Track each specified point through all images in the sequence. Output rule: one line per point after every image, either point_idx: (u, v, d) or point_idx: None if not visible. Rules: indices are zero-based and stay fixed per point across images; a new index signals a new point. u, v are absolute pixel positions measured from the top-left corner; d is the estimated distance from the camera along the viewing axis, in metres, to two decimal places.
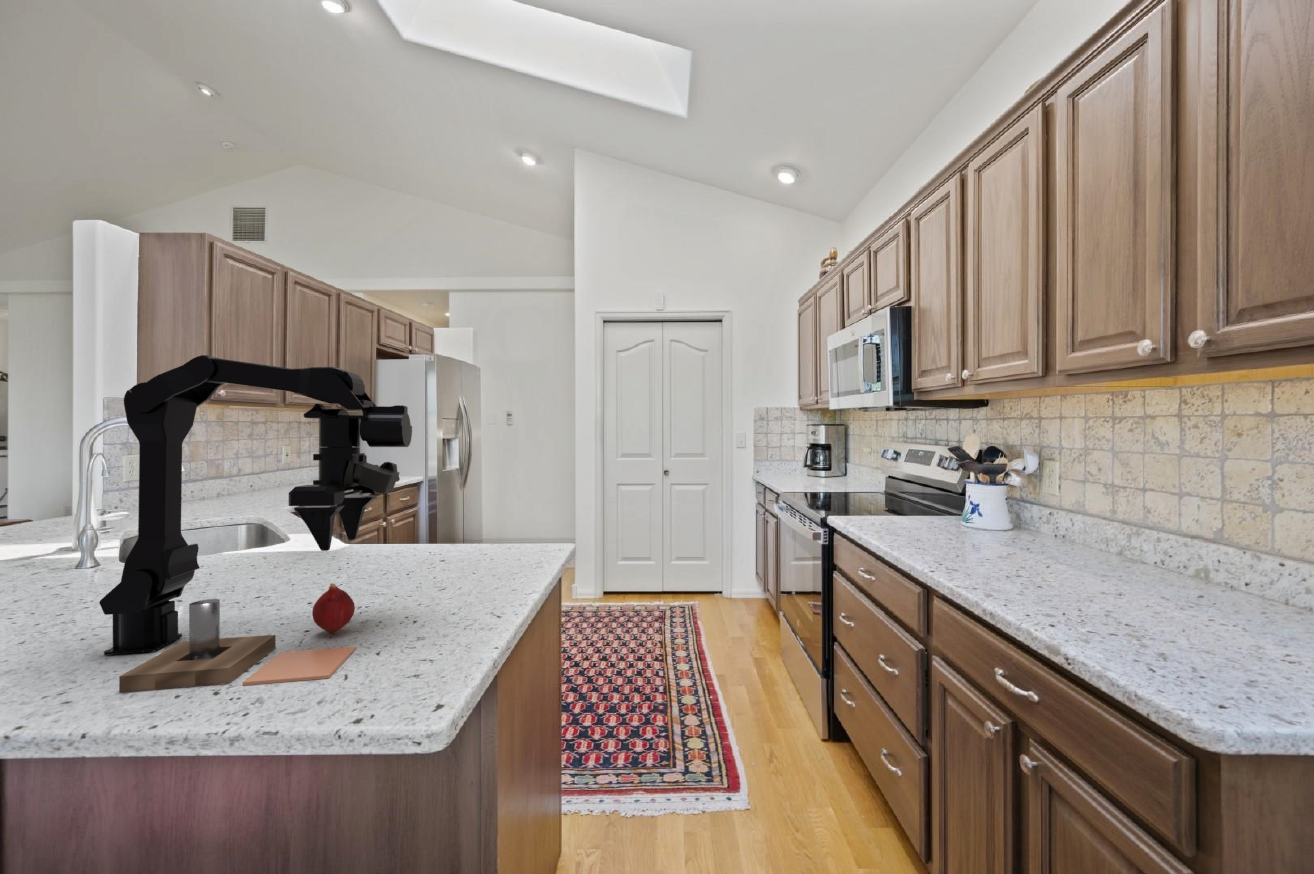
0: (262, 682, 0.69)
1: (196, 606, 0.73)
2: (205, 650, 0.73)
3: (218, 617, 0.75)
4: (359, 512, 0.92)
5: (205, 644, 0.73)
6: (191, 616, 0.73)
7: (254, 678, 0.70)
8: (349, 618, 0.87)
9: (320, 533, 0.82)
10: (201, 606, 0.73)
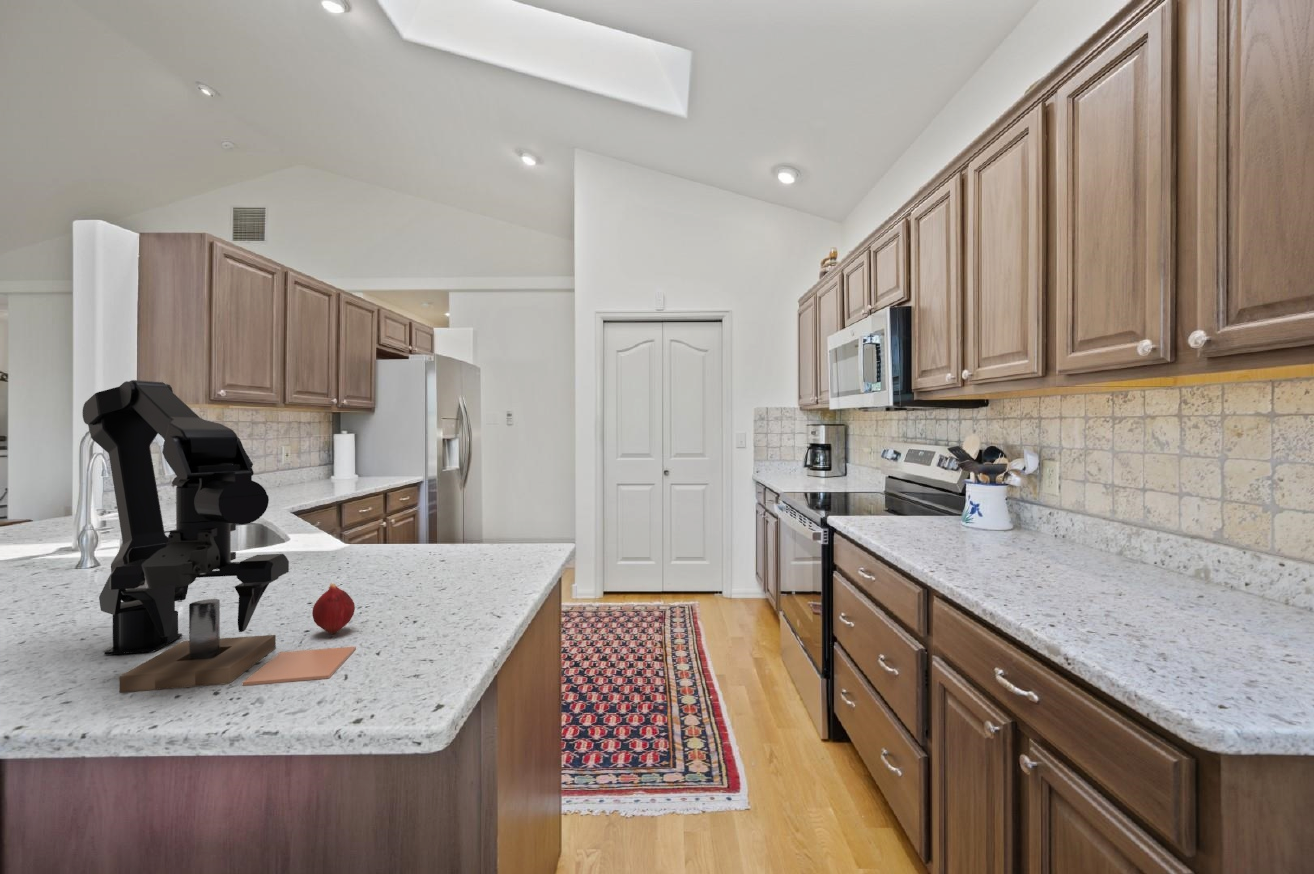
0: (262, 682, 0.69)
1: (196, 606, 0.73)
2: (205, 650, 0.73)
3: (218, 617, 0.75)
4: None
5: (205, 644, 0.73)
6: (191, 616, 0.73)
7: (254, 678, 0.70)
8: (349, 618, 0.87)
9: None
10: (201, 606, 0.73)
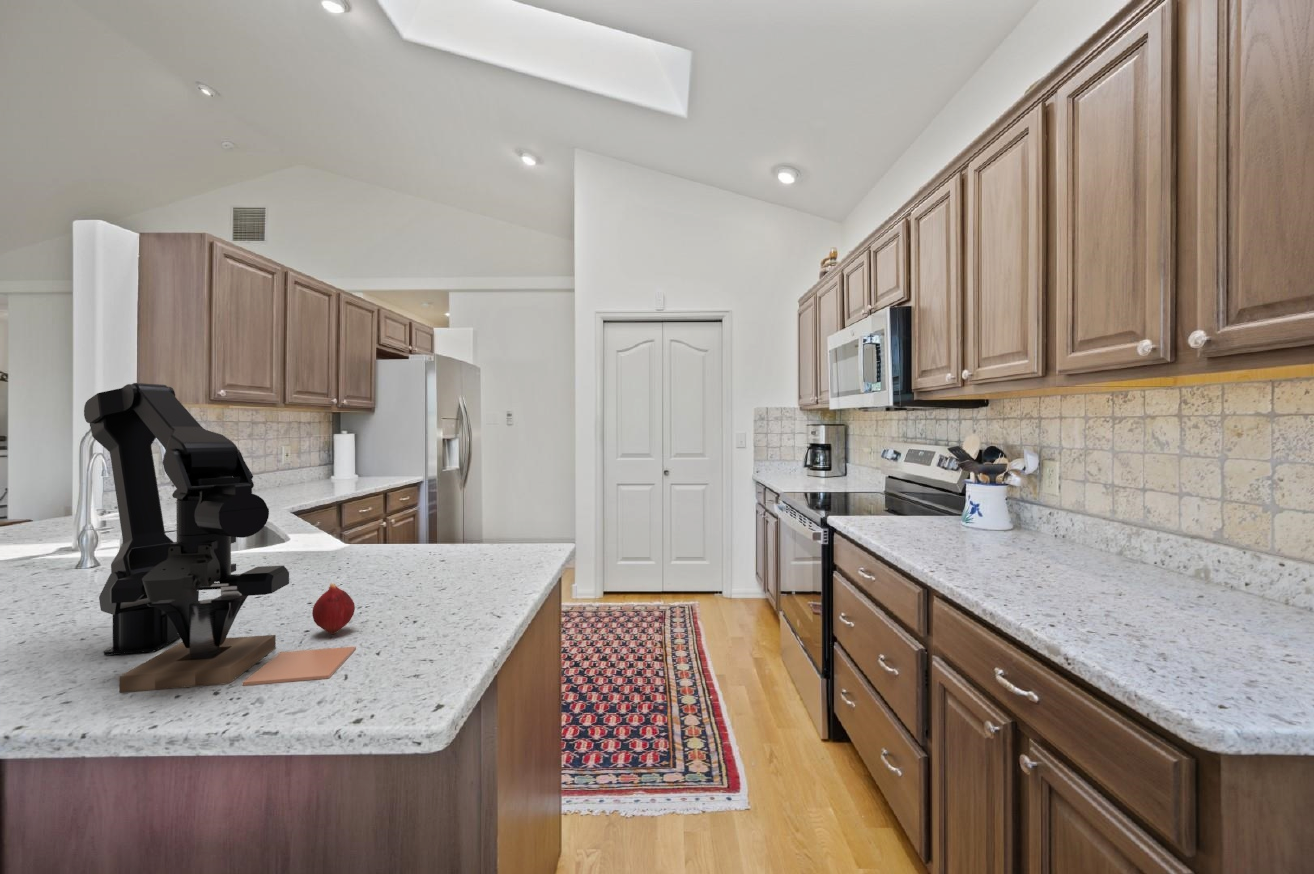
0: (262, 682, 0.69)
1: (196, 606, 0.73)
2: (205, 650, 0.73)
3: None
4: (216, 614, 0.74)
5: (205, 644, 0.73)
6: (191, 616, 0.73)
7: (254, 678, 0.70)
8: (349, 618, 0.87)
9: None
10: (201, 606, 0.73)
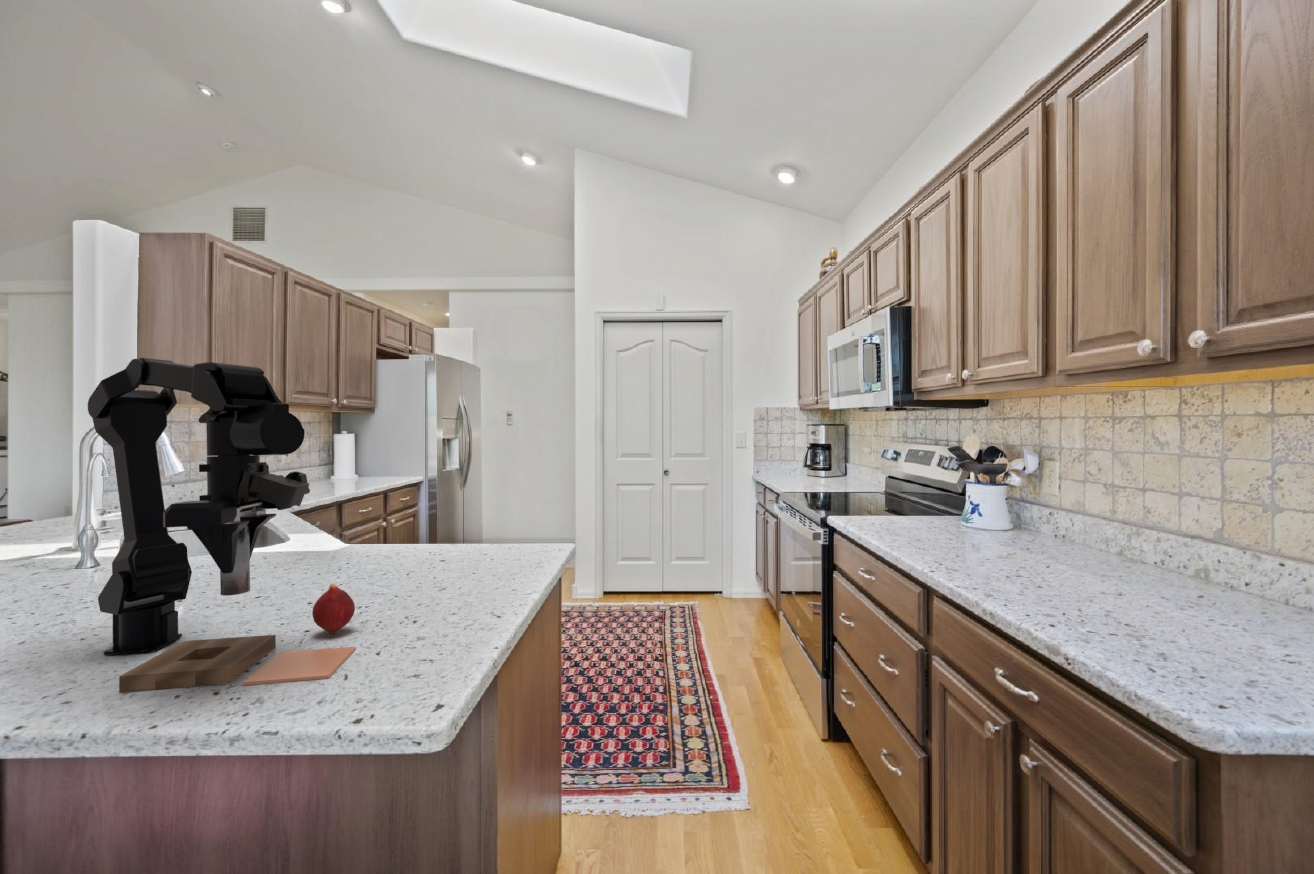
0: (262, 682, 0.69)
1: (246, 526, 0.75)
2: (249, 569, 0.75)
3: None
4: (251, 534, 0.77)
5: (249, 563, 0.75)
6: (241, 537, 0.74)
7: (254, 678, 0.70)
8: (349, 618, 0.87)
9: (220, 553, 0.72)
10: (248, 526, 0.75)
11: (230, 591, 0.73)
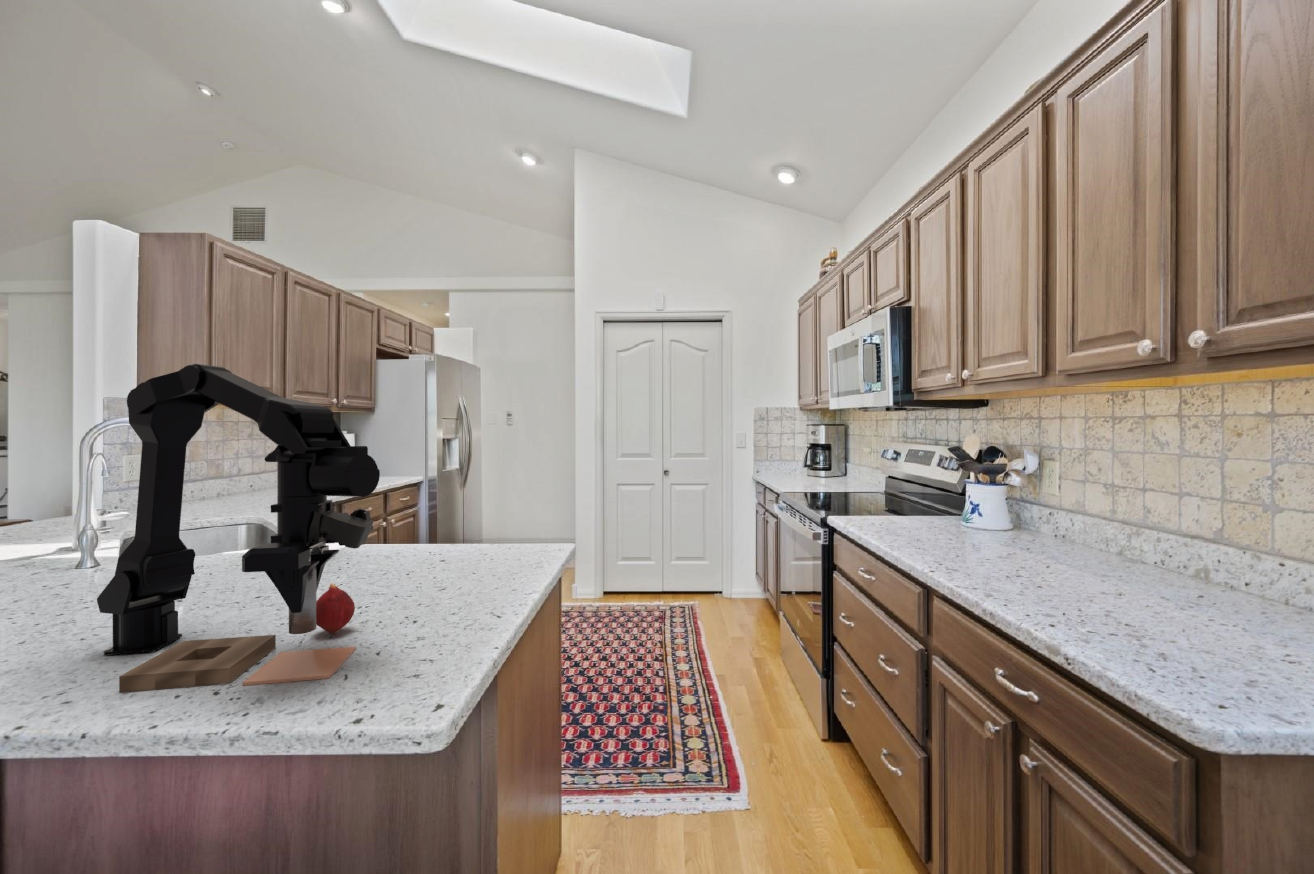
0: (262, 682, 0.69)
1: None
2: None
3: None
4: (317, 571, 0.77)
5: None
6: (310, 576, 0.74)
7: (254, 678, 0.70)
8: (349, 618, 0.87)
9: (291, 594, 0.72)
10: None
11: (299, 630, 0.73)
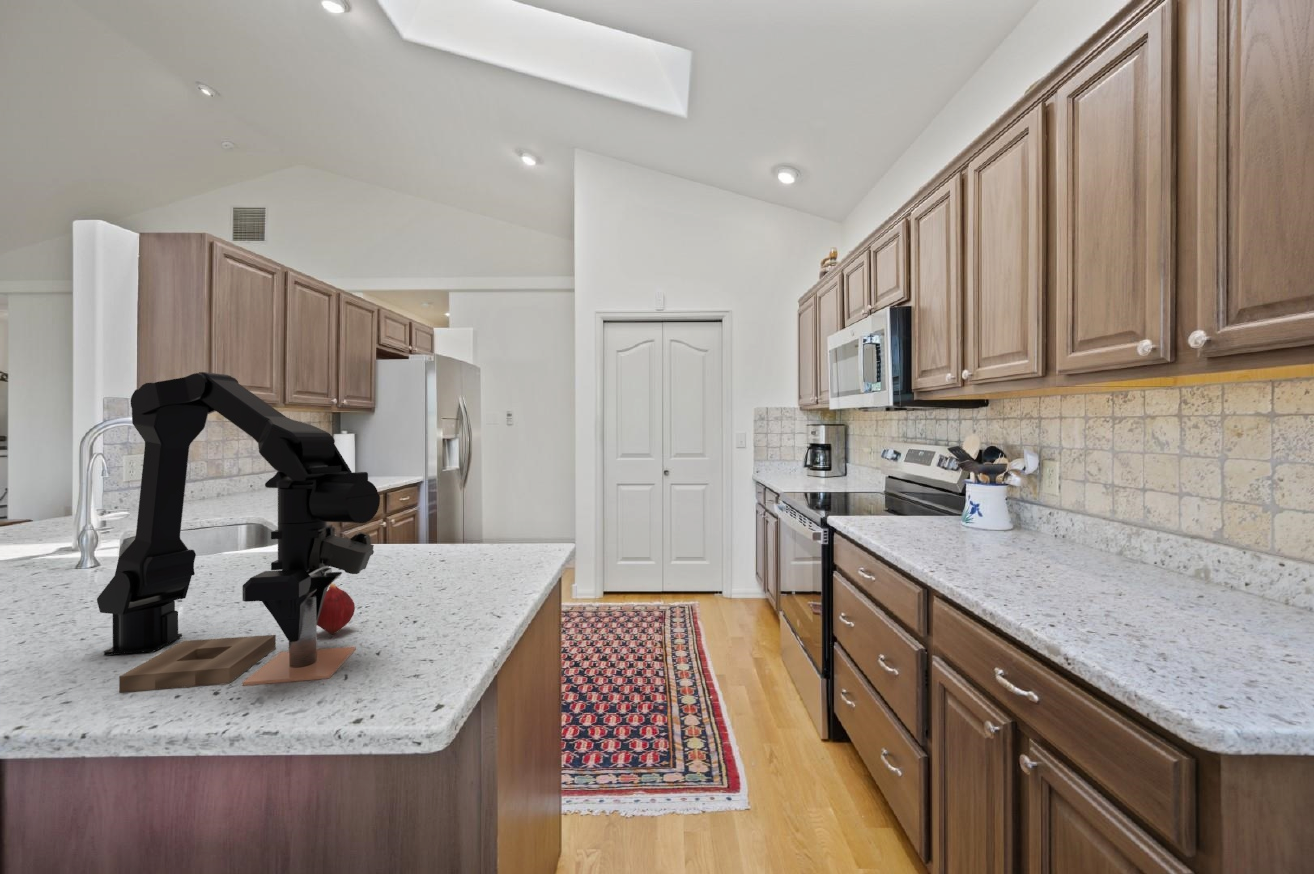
0: (262, 682, 0.69)
1: (314, 598, 0.75)
2: None
3: None
4: (320, 594, 0.78)
5: None
6: (310, 609, 0.74)
7: (254, 678, 0.70)
8: (349, 618, 0.87)
9: (288, 622, 0.71)
10: None
11: (299, 663, 0.73)
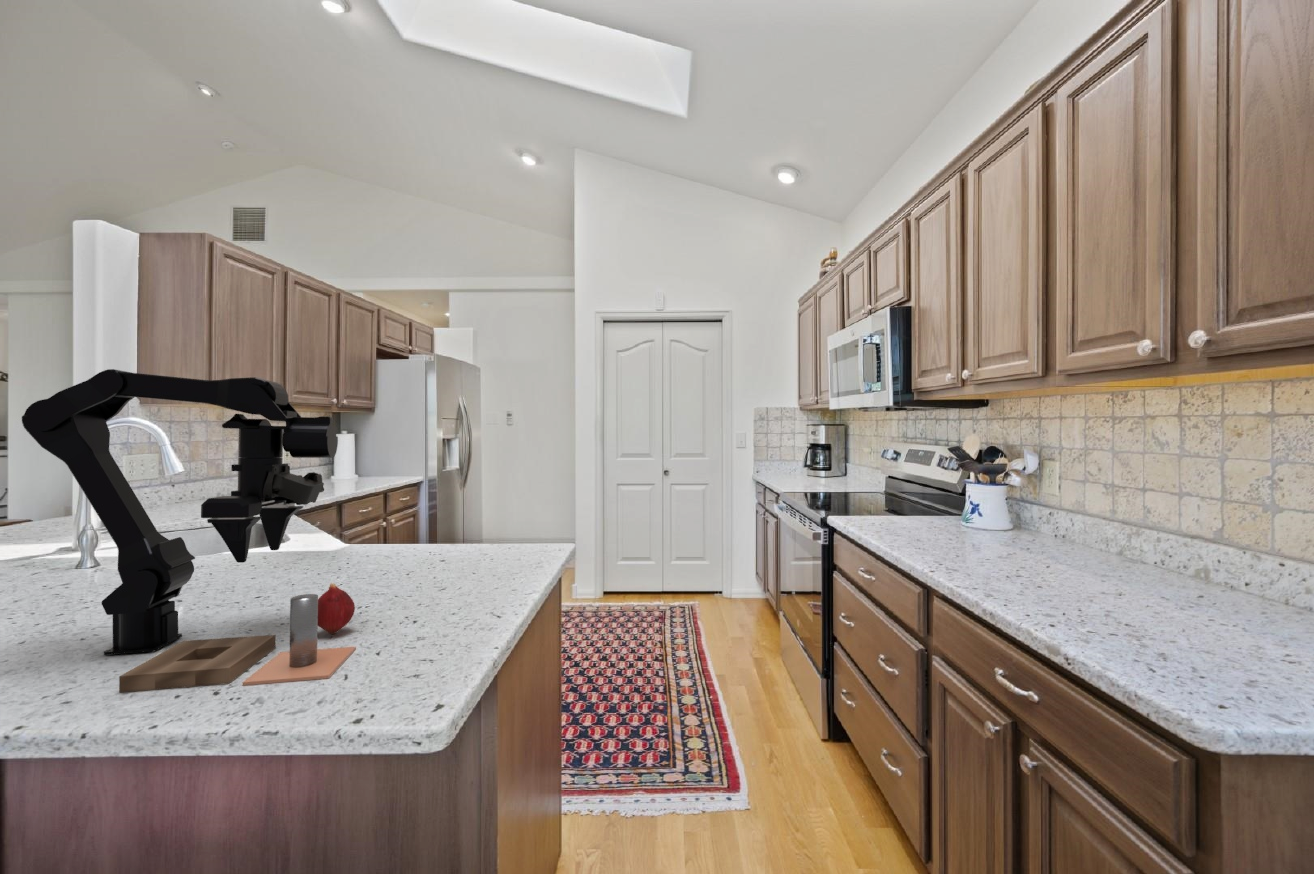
0: (262, 682, 0.69)
1: (316, 597, 0.75)
2: None
3: None
4: (282, 522, 0.92)
5: None
6: (311, 609, 0.74)
7: (254, 678, 0.70)
8: (349, 618, 0.87)
9: (236, 545, 0.81)
10: (317, 596, 0.76)
11: (300, 663, 0.73)
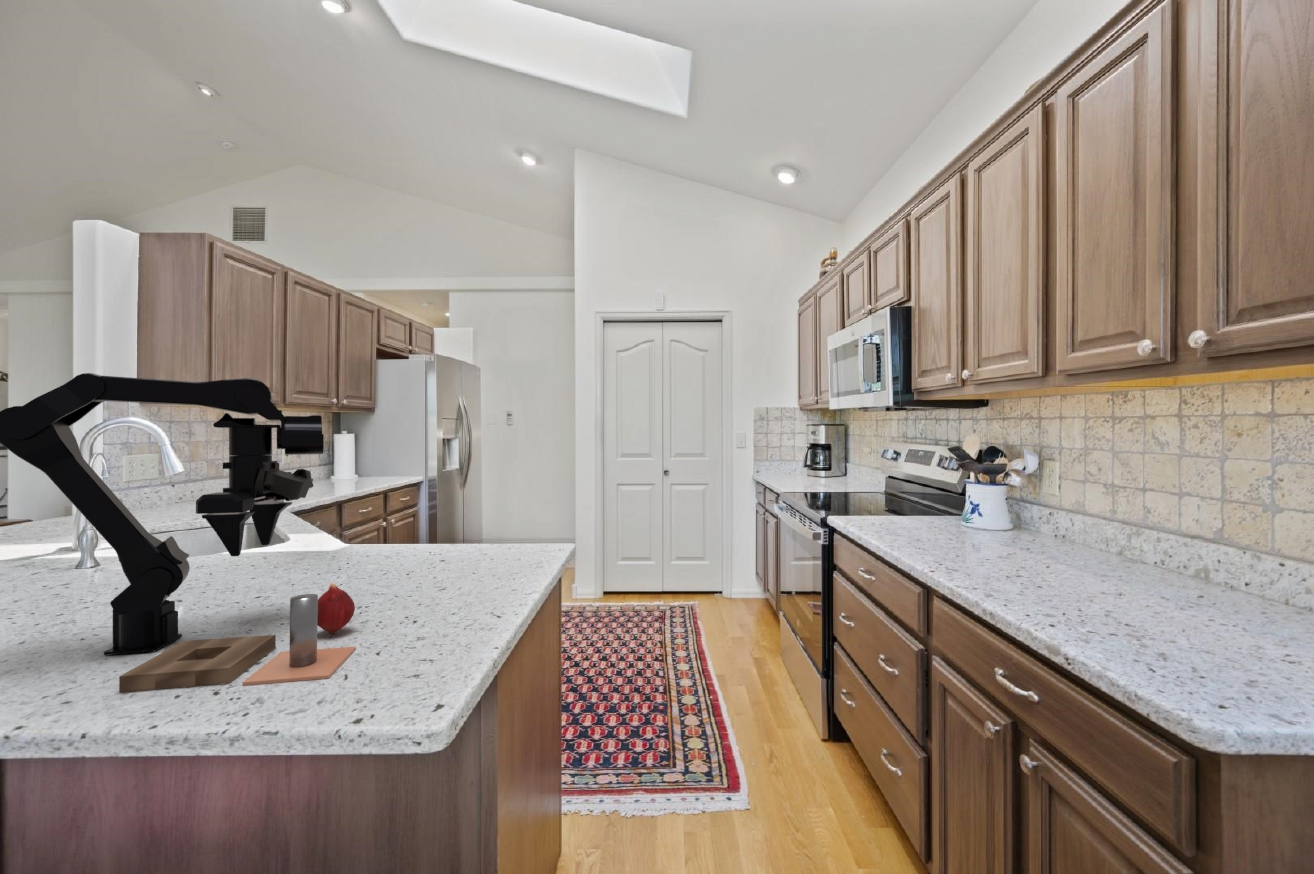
0: (262, 682, 0.69)
1: (316, 597, 0.75)
2: None
3: None
4: (273, 518, 0.95)
5: None
6: (311, 608, 0.75)
7: (254, 678, 0.70)
8: (349, 618, 0.87)
9: (230, 539, 0.84)
10: (317, 596, 0.76)
11: (300, 663, 0.73)
